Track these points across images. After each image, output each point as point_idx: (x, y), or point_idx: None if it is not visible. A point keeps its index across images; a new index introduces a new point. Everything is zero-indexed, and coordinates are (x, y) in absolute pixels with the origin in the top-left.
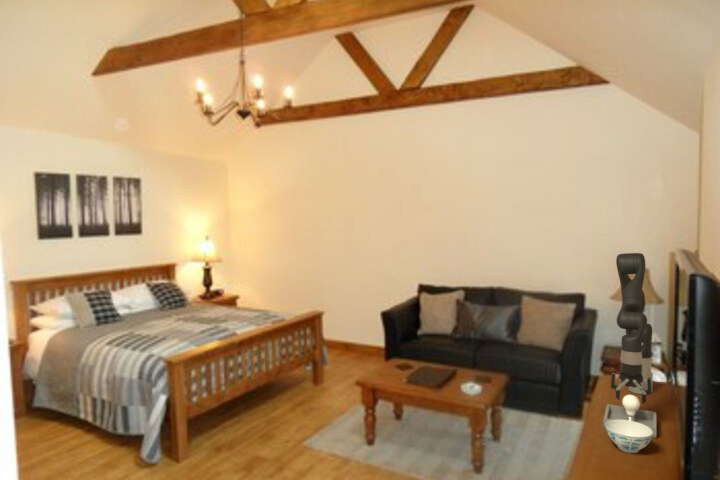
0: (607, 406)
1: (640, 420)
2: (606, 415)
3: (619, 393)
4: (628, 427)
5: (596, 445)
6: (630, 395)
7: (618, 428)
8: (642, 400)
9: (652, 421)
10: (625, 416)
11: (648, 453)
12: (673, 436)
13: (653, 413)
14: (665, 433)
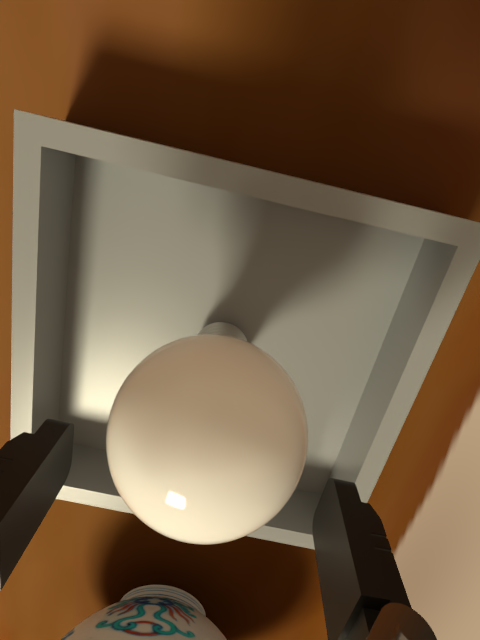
0: (21, 195)
1: (310, 279)
2: (26, 426)
3: (18, 552)
4: (153, 637)
5: (26, 612)
6: (183, 524)
7: (99, 629)
8: (321, 561)
9: (403, 274)
10: (204, 221)
11: (241, 632)
12: (450, 444)
13: (447, 271)
14: (419, 414)
